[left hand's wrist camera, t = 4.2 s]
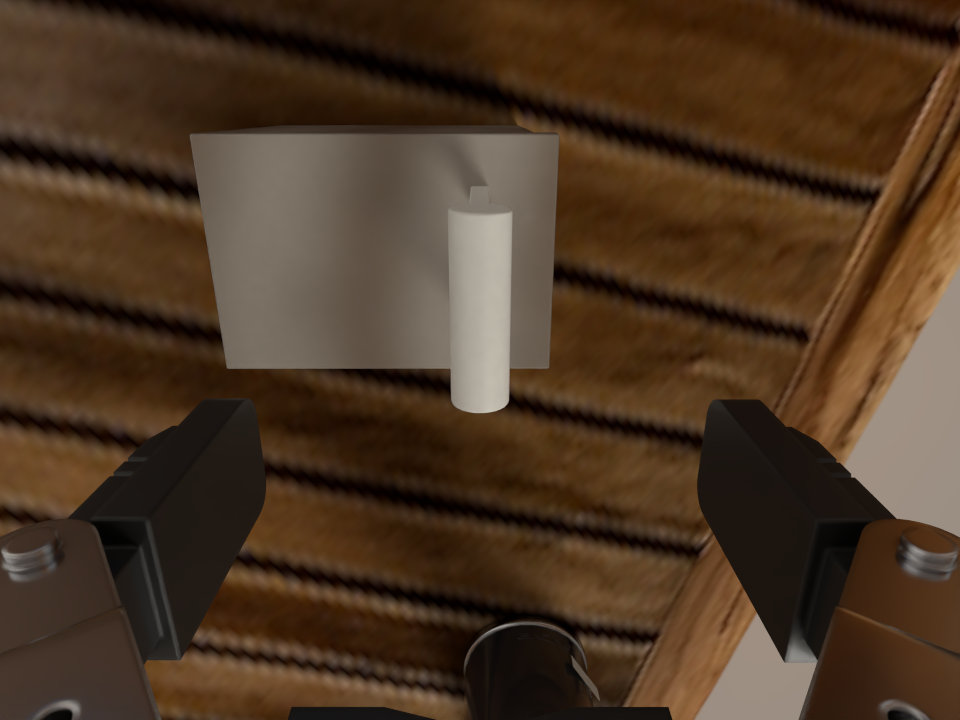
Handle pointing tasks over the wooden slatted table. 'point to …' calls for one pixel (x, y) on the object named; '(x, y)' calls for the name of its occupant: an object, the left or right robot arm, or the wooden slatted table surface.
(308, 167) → the lid
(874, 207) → the wooden slatted table surface
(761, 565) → the left robot arm
